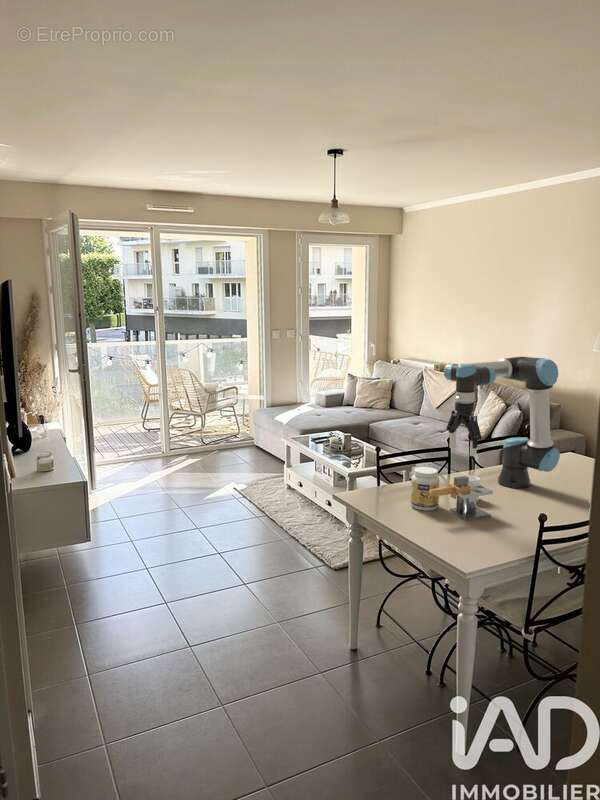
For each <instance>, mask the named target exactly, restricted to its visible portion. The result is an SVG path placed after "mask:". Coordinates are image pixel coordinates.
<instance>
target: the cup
mask: <svg viewBox="0 0 600 800" xmlns="http://www.w3.org/2000/svg"><path fill="white" fill-rule="evenodd" d="M464 476H466V477H469V482H468V483H472V482H474V483H477V484H479V485H481V484H480V483H481V478H480V477H479V476H476V475H469V474H468V475H464ZM479 497H480V496H478V497H477V500H476V502H478V501H479V500H480V499H479ZM464 502H465V499H464Z"/></svg>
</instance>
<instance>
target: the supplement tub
mask: <svg viewBox="0 0 600 800" xmlns="http://www.w3.org/2000/svg"><path fill="white" fill-rule="evenodd" d="M438 471H439V470H438V469H436V468H434V467H430V466H429V467H428V466H418V467H415V468H414V469H413V475H412V476H411V483H410V484H411V485H410V486H411V487H410V488H411V490H410V505H411V506H412V508H414V509H416V510H418V511H423V512H424V511H426V512H427V511H434V510H436V509H437V508H438V507H439V502H440V501H439V498H440V496H434V497H431V496H430V494H429V491H430V490H431V489H438V488H440V477H439V472H438Z"/></svg>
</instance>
